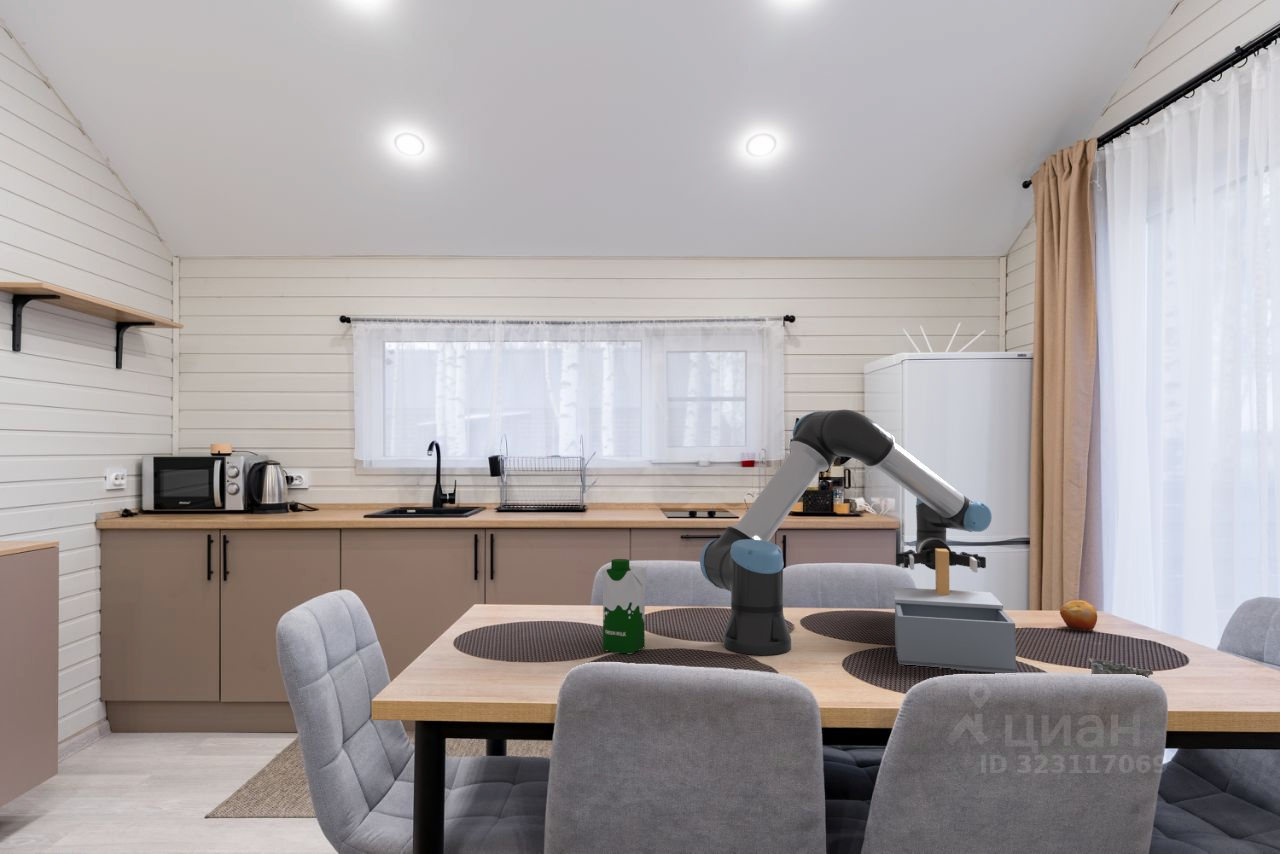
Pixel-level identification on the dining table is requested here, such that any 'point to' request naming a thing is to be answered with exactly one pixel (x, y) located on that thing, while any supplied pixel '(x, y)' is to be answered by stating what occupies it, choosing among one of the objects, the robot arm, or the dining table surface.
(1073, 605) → the fruit
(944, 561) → the box lid with handle
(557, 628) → the dining table surface
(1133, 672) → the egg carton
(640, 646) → the milk carton
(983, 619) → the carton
